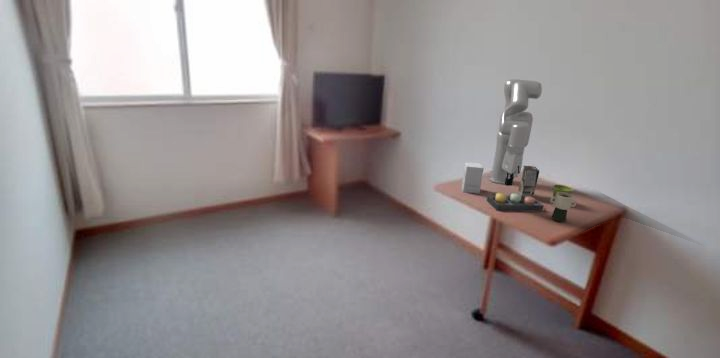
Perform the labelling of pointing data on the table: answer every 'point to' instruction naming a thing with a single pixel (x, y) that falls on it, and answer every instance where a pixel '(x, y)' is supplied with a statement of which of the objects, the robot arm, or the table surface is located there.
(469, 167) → the supplement box
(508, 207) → the panel
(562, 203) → the character mug
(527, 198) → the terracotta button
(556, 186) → the plant pot
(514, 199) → the sage button
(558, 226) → the table surface
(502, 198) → the mustard button
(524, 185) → the coffee box
